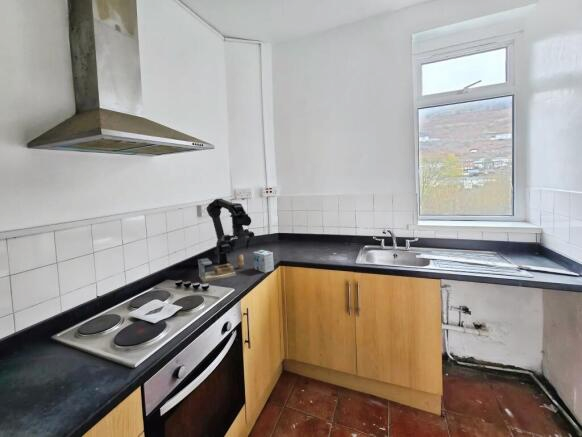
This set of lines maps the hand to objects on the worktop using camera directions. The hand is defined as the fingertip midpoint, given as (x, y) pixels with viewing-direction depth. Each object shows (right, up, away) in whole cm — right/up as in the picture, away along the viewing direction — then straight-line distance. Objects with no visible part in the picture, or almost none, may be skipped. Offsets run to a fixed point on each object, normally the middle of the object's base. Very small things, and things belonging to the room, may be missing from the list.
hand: (239, 249), depth 170 cm
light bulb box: (+16, -11, -5) cm, 20 cm away
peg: (+1, -11, +2) cm, 11 cm away
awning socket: (-11, -14, -11) cm, 20 cm away
